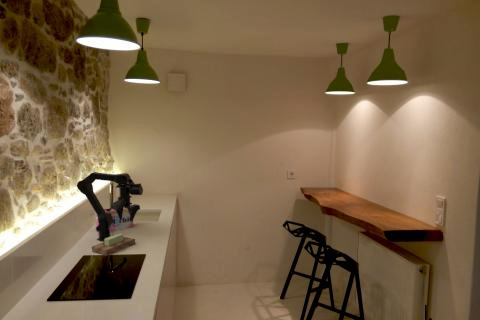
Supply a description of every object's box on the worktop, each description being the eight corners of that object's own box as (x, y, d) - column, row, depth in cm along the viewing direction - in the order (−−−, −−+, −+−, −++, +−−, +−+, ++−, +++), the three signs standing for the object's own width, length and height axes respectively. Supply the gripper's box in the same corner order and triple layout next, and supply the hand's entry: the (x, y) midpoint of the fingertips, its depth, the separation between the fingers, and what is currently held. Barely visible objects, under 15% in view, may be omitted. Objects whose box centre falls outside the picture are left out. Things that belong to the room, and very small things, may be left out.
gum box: (132, 224, 240) (131, 204, 238) (135, 226, 233) (134, 207, 232) (95, 230, 226) (94, 210, 225) (98, 233, 220) (97, 213, 218)
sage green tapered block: (104, 250, 192) (104, 238, 191) (119, 244, 200) (118, 233, 199) (109, 251, 190) (108, 239, 189) (123, 245, 198) (122, 234, 198)
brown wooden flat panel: (92, 251, 189) (91, 246, 189) (120, 240, 206) (120, 235, 206) (106, 255, 183) (106, 250, 183) (135, 243, 201) (135, 238, 200)
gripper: (103, 196, 203) (104, 221, 204) (125, 199, 193) (126, 226, 195) (118, 192, 212) (119, 217, 214) (140, 195, 203) (141, 221, 205)
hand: (126, 220), depth 207 cm, fingers open, 9 cm apart
